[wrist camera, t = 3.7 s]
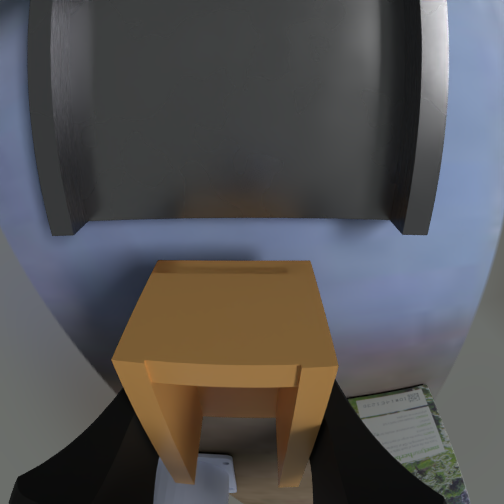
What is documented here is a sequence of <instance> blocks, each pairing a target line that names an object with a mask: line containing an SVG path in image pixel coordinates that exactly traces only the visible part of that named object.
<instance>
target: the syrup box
mask: <svg viewBox="0 0 504 504" xmlns="http://www.w3.org/2000/svg"><path fill="white" fill-rule="evenodd" d="M348 401H349V403H350V404H351V406H352V407H353V409H354V410H355V412H356V413H357V414H358V416H359V417H360V419H361V420H362V421H363V423H364V424H365V425H366V427H367V428H368V429H369V430H370V432H371V433H372V434H373V435H374V436H375V438H376V439H377V440H378V441H379V442H380V443H381V444H382V446H383V447H384V448H385V449H386V450H387V451H388V452H389V453H390V454H391V455H392V456H393V457H394V458H395V459H396V460H397V461H398V462H400V463H401V464H402V465H403V466H404V467H405V468H406V469H407V470H408V471H410V472H411V473H412V474H413V475H414V476H416V477H417V478H418V479H419V480H421V481H422V482H423V483H425V484H426V485H428V486H429V487H430V488H432V489H433V490H435V491H436V492H438V493H439V494H441V495H442V496H444V498H445V500H446V503H447V504H471V503H470V500H469V496H468V493H467V489H466V486H465V483H464V480H463V477H462V474H461V471H460V468H459V465H458V462H457V459H456V457H455V454H454V451H453V449H452V446H451V443H450V440H449V438H448V435H447V432H446V430H445V427H444V425H443V422H442V420H441V418H440V415H439V413H438V410H437V408H436V405H435V402H434V400H433V398H432V395H431V393H430V391H429V388H428V386H427V385H421V386H417V387H412V388H408V389H403V390H398V391H393V392H388V393H382V394H376V395H370V396H364V397H358V398H351V399H348Z"/></svg>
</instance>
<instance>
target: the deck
mask: <svg viewBox="0 0 504 504" xmlns="http://www.w3.org/2000/svg"><path fill="white" fill-rule="evenodd" d="M448 81H449V32H448V13H447V0H30V10H29V24H28V91H29V106H30V117H31V127H32V135H33V143H34V150H35V157H36V163H37V169H38V175H39V180H40V185H41V190H42V195H43V200H44V205H45V209H46V213H47V217H48V222H49V225H50V229H51V233H52V236H66V235H75V234H76V233H77V232H78V231H79V230H80V229H81V228H82V227H83V226H84V225H85V224H86V223H87V222H88V221H103V220H131V219H170V218H338V219H377V220H390V221H391V222H392V223H393V224H394V226H395V227H396V228H397V229H398V230H399V231H400V232H401V234H402V235H427V234H428V230H429V225H430V221H431V216H432V211H433V206H434V201H435V196H436V191H437V185H438V179H439V173H440V166H441V160H442V152H443V144H444V136H445V126H446V115H447V101H448Z"/></svg>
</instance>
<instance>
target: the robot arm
mask: <svg viewBox="0 0 504 504" xmlns="http://www.w3.org/2000/svg"><path fill="white" fill-rule="evenodd" d="M309 459H310V465H311V472H312V484H313V504H447V503H446V500H445V498H444V496H442V495H441V494H439V493H438V492H436V491H435V490H433V489H432V488H430V487H429V486H428V485H426V484H425V483H423V482H422V481H421V480H419V479H418V478H417V477H416V476H414V475H413V474H412V473H411V472H410V471H408V470H407V469H406V468H405V467H404V466H403V465H402V464H401V463H400V462H398V461H397V460H396V459H395V458H394V457H393V456H392V455H391V454H390V453H389V452H388V451H387V450H386V449H385V448H384V447H383V446H382V444H381V443H380V442H379V441H378V440H377V439H376V438H375V436H374V435H373V434H372V433H371V432H370V430H369V429H368V428H367V427H366V425H365V424H364V423H363V421H362V420H361V419H360V417H359V416H358V414H357V413H356V412H355V410H354V409H353V407H352V406H351V404H350V403H349V401H348V399H347V398H346V396H345V395H344V393H343V392H342V390H341V388H340V387H339V385H338V383H337V381H336V380H334V384H333V387H332V391H331V394H330V397H329V401H328V404H327V407H326V410H325V413H324V417H323V420H322V423H321V426H320V429H319V432H318V435H317V438H316V440H315V443H314V446H313V449H312V452H311V455H310V457H309ZM235 492H237V486H236V479H235V473H234V466H233V459H232V457H231V456H229V455H219V454H203V453H198V460H197V468H196V477H195V485H191V484H182V483H175V481H174V480H173V478H172V476H171V475H170V473H169V472H168V470H167V468H166V467H165V465H164V463H163V462H162V460H161V458H160V457H159V455H158V453H157V451H156V450H155V448H154V446H153V444H152V443H151V441H150V439H149V437H148V435H147V433H146V432H145V430H144V428H143V426H142V424H141V422H140V420H139V418H138V416H137V414H136V412H135V410H134V408H133V406H132V404H131V402H130V400H129V398H128V396H127V394H126V392H125V390H124V387H123V388H122V390H121V391H120V392H119V393H118V395H117V396H116V397H115V398H114V400H113V401H112V402H111V403H110V404H109V405H108V407H107V408H106V409H105V410H104V411H103V412H102V414H101V415H100V416H99V417H98V418H97V419H96V420H95V421H94V422H93V423H92V424H91V425H90V426H89V427H88V428H87V429H86V430H85V431H84V432H83V433H82V434H81V435H80V436H78V437H77V438H76V439H75V440H74V441H73V442H71V443H70V444H69V445H68V446H67V447H65V448H64V449H63V450H61V451H60V452H59V453H57V454H56V455H54V456H53V457H51V458H50V459H49V460H47V461H45V462H44V463H43V464H41V465H39V466H37V467H36V468H34V469H32V470H30V471H28V472H26V473H25V474H23V475H21V476H19V477H18V478H17V480H16V482H15V485H14V488H13V491H12V494H11V497H10V500H9V504H228V496H229V493H235Z"/></svg>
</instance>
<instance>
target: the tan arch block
mask: <svg viewBox="0 0 504 504" xmlns="http://www.w3.org/2000/svg"><path fill="white" fill-rule="evenodd" d="M111 360H112V363H113V365H114V367H115V370H116V372H117V374H118V376H119V379H120V381H121V383H122V385H123V387H124V390H125V392H126V394H127V396H128V398H129V400H130V402H131V404H132V406H133V408H134V410H135V412H136V414H137V416H138V418H139V420H140V422H141V424H142V426H143V428H144V430H145V432H146V433H147V435H148V437H149V439H150V441H151V443H152V444H153V446H154V448H155V450H156V451H157V453H158V455H159V457H160V458H161V460H162V462H163V463H164V465H165V467H166V468H167V470H168V472H169V473H170V475H171V476H172V478H173V480H174V481H175V483H182V484H191V485H195V477H196V468H197V460H198V451H199V443H200V435H201V427H202V420H203V416H209V417H233V418H276V434H277V458H278V485H279V487H298V486H299V484H300V481H301V478H302V476H303V473H304V471H305V468H306V465H307V463H308V460H309V457H310V455H311V452H312V449H313V446H314V443H315V440H316V438H317V435H318V432H319V429H320V426H321V423H322V420H323V417H324V413H325V410H326V407H327V404H328V401H329V397H330V394H331V391H332V387H333V384H334V380H335V377H336V373H337V370H338V362H337V358H336V354H335V350H334V346H333V342H332V338H331V334H330V330H329V327H328V323H327V319H326V315H325V312H324V308H323V304H322V301H321V297H320V293H319V290H318V286H317V283H316V279H315V275H314V272H313V268H312V265H311V262H310V261H200V260H158V261H157V263H156V265H155V267H154V269H153V271H152V273H151V275H150V277H149V279H148V281H147V283H146V285H145V287H144V289H143V291H142V294H141V296H140V298H139V300H138V302H137V304H136V306H135V308H134V310H133V313H132V315H131V317H130V319H129V321H128V323H127V326H126V328H125V330H124V332H123V334H122V337H121V339H120V341H119V343H118V346H117V348H116V350H115V352H114V355H113V357H112V359H111Z"/></svg>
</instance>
